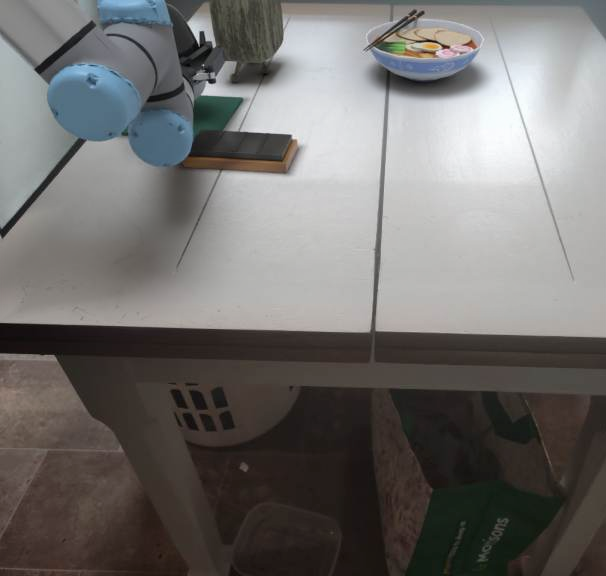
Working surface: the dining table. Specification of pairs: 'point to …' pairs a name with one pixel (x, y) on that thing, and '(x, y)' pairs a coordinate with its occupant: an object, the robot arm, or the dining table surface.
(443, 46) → the ramen bowl
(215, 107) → the mat
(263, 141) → the whetstone on wooden base
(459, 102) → the dining table surface
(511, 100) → the dining table surface
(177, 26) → the pump dispenser
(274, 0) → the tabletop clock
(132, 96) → the robot arm
